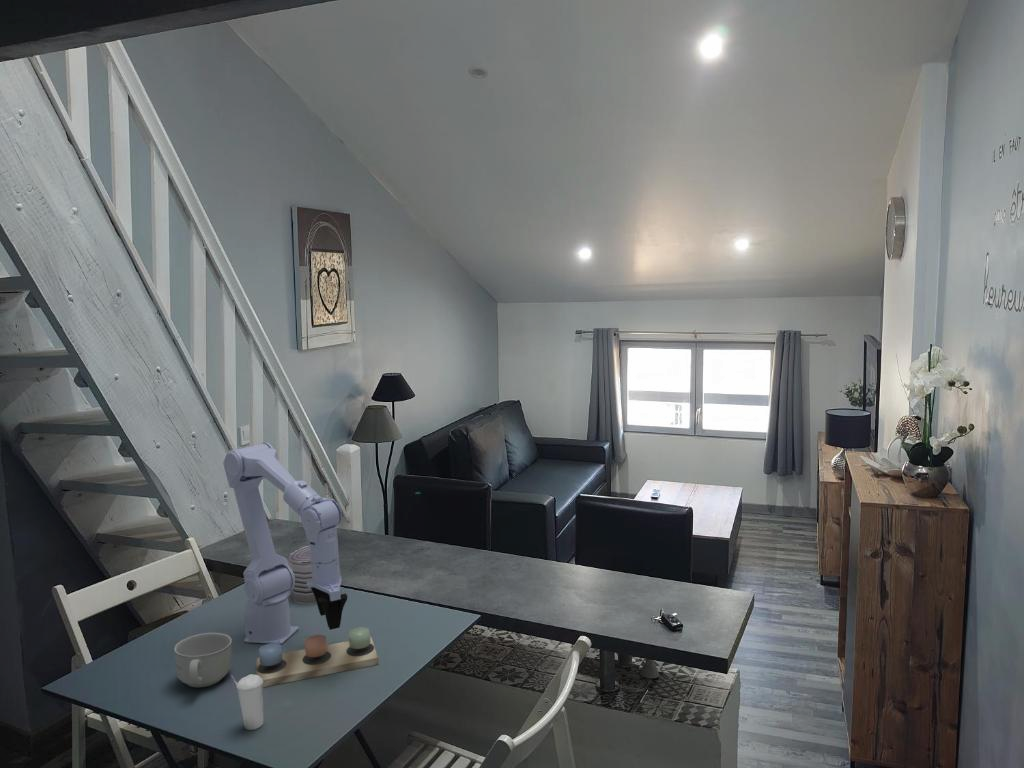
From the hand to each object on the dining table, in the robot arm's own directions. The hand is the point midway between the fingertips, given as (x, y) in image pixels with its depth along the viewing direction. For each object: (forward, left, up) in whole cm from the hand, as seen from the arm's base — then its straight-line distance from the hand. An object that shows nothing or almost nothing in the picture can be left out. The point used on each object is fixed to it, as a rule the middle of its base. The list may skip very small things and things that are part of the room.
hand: (329, 620), depth 156 cm
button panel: (-2, -2, -9) cm, 9 cm away
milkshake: (-4, -24, -9) cm, 26 cm away
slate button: (-10, -7, -6) cm, 14 cm away
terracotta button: (-2, -2, -6) cm, 7 cm away
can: (-20, +31, -9) cm, 38 cm away
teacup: (-22, -12, -9) cm, 27 cm away
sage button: (+5, +2, -6) cm, 8 cm away
